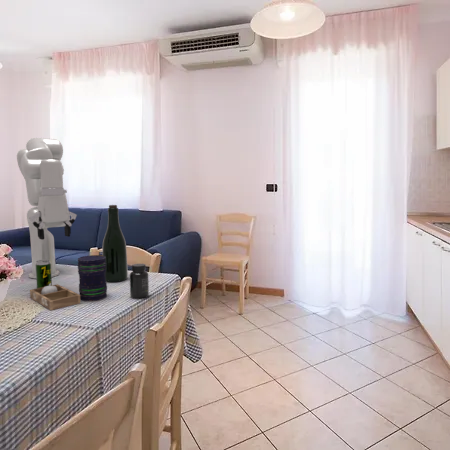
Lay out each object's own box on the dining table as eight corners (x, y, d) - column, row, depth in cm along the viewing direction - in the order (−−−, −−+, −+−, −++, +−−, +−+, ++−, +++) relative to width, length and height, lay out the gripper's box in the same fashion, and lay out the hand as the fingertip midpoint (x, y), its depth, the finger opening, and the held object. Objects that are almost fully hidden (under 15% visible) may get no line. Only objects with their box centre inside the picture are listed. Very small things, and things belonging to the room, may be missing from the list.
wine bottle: (115, 275, 166) (113, 203, 162) (132, 278, 161) (130, 204, 157) (97, 280, 157) (94, 205, 153) (115, 283, 152) (112, 205, 148)
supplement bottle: (147, 292, 140) (146, 262, 138) (149, 297, 133) (149, 266, 132) (129, 294, 137) (128, 263, 136) (130, 299, 131) (129, 267, 130)
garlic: (49, 294, 137) (49, 281, 137) (61, 296, 136) (60, 282, 135) (37, 299, 131) (36, 285, 131) (49, 300, 130) (48, 286, 129)
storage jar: (95, 302, 128) (93, 261, 126) (73, 299, 131) (71, 259, 130) (112, 294, 137) (111, 256, 135) (92, 292, 141) (90, 254, 139)
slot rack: (29, 297, 133) (29, 290, 133) (58, 291, 141) (57, 284, 140) (50, 310, 120) (49, 301, 120) (80, 303, 127) (80, 294, 127)
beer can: (33, 291, 141) (32, 261, 139) (45, 288, 145) (43, 259, 144) (44, 293, 139) (42, 262, 137) (55, 289, 144) (53, 260, 142)
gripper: (70, 192, 144) (72, 234, 146) (24, 193, 131) (26, 239, 134) (79, 192, 139) (81, 236, 141) (31, 193, 126) (34, 241, 129)
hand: (54, 237), depth 137 cm, fingers open, 9 cm apart
